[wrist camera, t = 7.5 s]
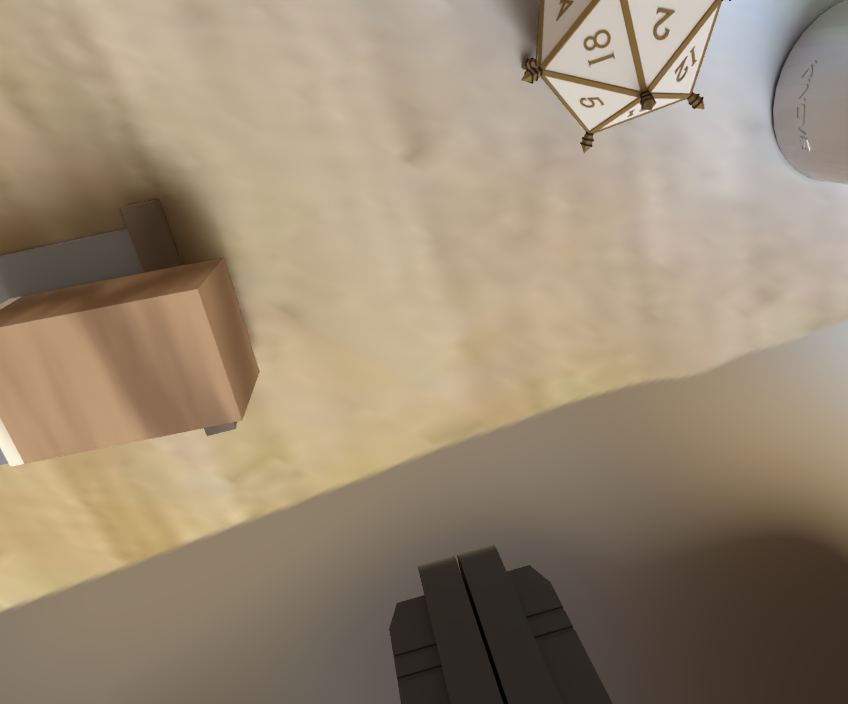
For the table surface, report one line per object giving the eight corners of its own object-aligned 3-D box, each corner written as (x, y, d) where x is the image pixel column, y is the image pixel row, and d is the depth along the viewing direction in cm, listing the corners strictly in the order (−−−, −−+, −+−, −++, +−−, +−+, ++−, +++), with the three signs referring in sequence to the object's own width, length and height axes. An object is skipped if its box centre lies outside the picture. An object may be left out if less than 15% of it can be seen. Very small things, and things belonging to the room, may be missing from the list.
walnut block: (197, 288, 24) (-59, 338, 23) (241, 420, 26) (10, 466, 26) (223, 257, 28) (9, 298, 28) (259, 371, 31) (62, 410, 30)
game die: (514, 38, 32) (466, -99, 22) (684, -37, 29) (711, -227, 20) (560, 198, 31) (531, 126, 22) (739, 135, 28) (794, 23, 19)
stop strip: (158, 198, 28) (153, 201, 27) (237, 419, 33) (235, 428, 32) (125, 205, 28) (119, 208, 27) (209, 426, 33) (207, 435, 32)
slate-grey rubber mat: (133, 226, 28) (131, 228, 28) (203, 410, 32) (202, 414, 32) (-117, 280, 27) (-123, 283, 27) (-12, 464, 31) (-15, 469, 31)
